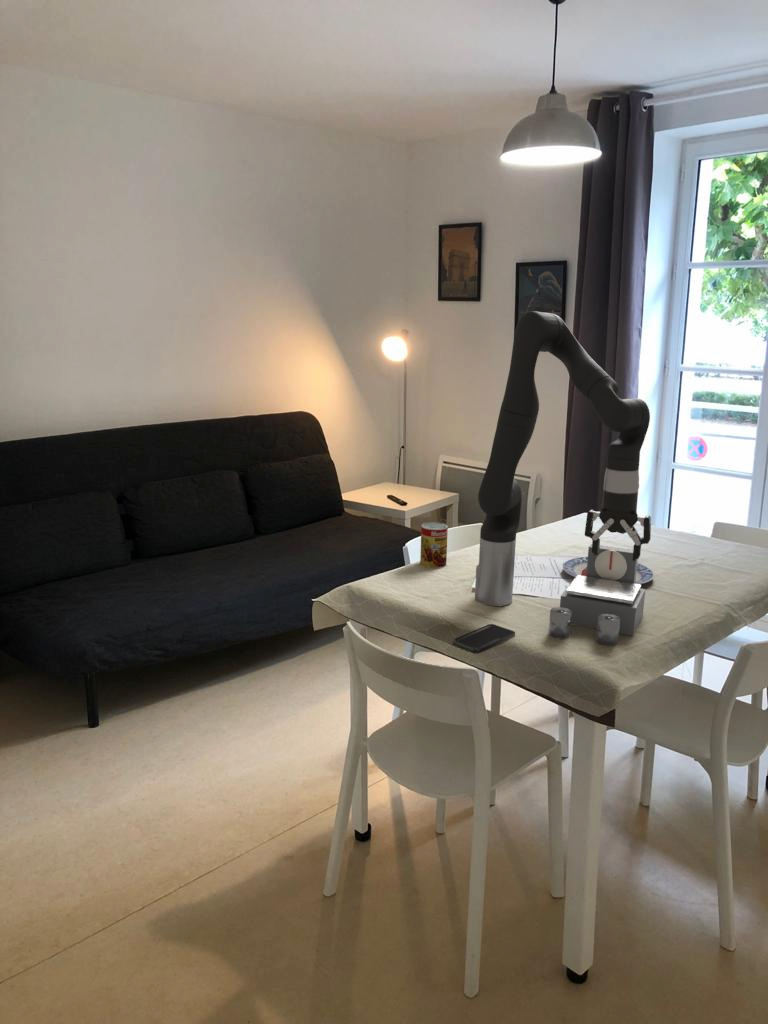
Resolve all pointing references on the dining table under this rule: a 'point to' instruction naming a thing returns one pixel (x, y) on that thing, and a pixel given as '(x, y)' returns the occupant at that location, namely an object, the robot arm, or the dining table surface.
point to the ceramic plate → (580, 568)
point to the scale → (587, 609)
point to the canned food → (433, 545)
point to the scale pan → (604, 589)
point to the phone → (484, 638)
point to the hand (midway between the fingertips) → (615, 557)
